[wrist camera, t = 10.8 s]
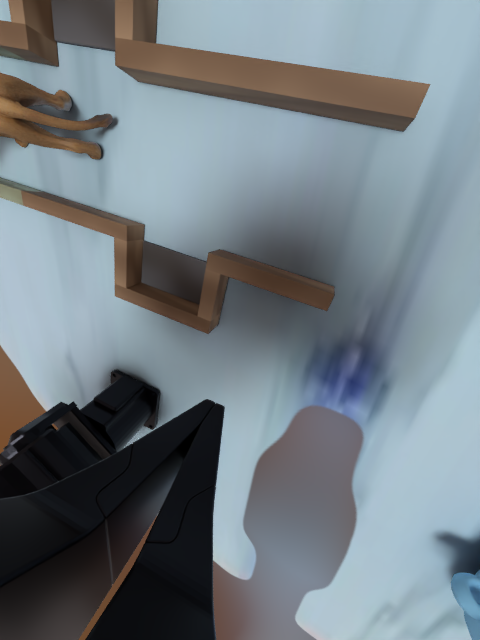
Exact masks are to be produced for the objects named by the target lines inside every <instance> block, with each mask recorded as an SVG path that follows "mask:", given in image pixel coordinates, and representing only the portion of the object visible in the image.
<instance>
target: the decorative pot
mask: <svg viewBox="0 0 480 640" xmlns="http://www.w3.org/2000/svg"><path fill="white" fill-rule="evenodd" d="M451 588H452V592H453V594H454V597H455V599H456V600H457V602H458V604H459V605H460V606H461V607H462V609H463V610H464V617H465V621H466V624H467V627H468V630H469V632H470V635H471V638H472V640H480V569H479V570H478V571H477V573H476V574H475V575H473V574H470V573H457V574H454V576H453V578H452V581H451Z"/></svg>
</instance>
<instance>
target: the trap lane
mask: <svg viewBox="0 0 480 640" xmlns="http://www.w3.org/2000/svg"><path fill="white" fill-rule="evenodd" d="M8 1H9V8H10V15H11V22H8V21H1V20H0V56H5V57H10V58H16V59H21V60H26V61H31V62H37V63H42V64H47V65H53V66H58V54H57V43H56V41H57V42H61V43H67V44H73V45H79V46H85V47H91V48H98V49H104V50H110V51H115V66H117V67H118V68H120V69H121V70H123V71H124V72H125V73H127V74H128V75H130V76H131V77H133V78H134V79H135V80H137V81H138V82H143V83H148V84H154V85H159V86H164V87H170V88H175V89H180V90H186V91H191V92H196V93H201V94H207V95H212V96H217V97H223V98H228V99H233V100H239V101H244V102H249V103H255V104H260V105H265V106H271V107H276V108H281V109H286V110H292V111H297V112H302V113H308V114H313V115H318V116H324V117H329V118H334V119H340V120H345V121H350V122H356V123H361V124H366V125H371V126H377V127H382V128H387V129H393V130H398V131H403V132H404V130H405V129H406V128H407V127H408V126H409V125H410V123H411V122H412V121H413V120H414V119H415V117H416V115H417V113H418V110H419V108H420V106H421V104H422V102H423V99H424V97H425V95H426V93H427V91H428V88H429V86H430V84H425V83H418V82H412V81H405V80H398V79H392V78H385V77H378V76H371V75H365V74H358V73H351V72H344V71H338V70H331V69H324V68H317V67H311V66H304V65H297V64H291V63H284V62H277V61H270V60H264V59H257V58H250V57H243V56H237V55H230V54H223V53H216V52H210V51H203V50H196V49H190V48H183V47H176V46H169V45H163V44H156V27H157V7H158V0H8ZM58 67H59V66H58ZM0 198H3V199H6V200H9V201H12V202H15V203H18V204H21V205H23V206H26V207H29V208H32V209H35V210H38V211H41V212H44V213H46V214H49V215H52V216H55V217H58V218H61V219H64V220H66V221H69V222H72V223H75V224H78V225H81V226H84V227H87V228H89V229H92V230H95V231H98V232H101V233H104V234H107V235H110V236H112V237H114V257H115V296H116V297H118V298H121V299H123V300H126V301H128V302H131V303H133V304H136V305H138V306H140V307H143V308H145V309H148V310H150V311H153V312H155V313H158V314H160V315H163V316H165V317H168V318H170V319H172V320H175V321H177V322H180V323H182V324H185V325H187V326H190V327H192V328H195V329H197V330H200V331H202V332H204V333H207V334H209V333H210V332H211V331H212V330H213V329H214V328H215V327H216V326H217V325H218V323H219V318H220V314H221V309H222V305H223V300H224V296H225V291H226V287H227V282H228V278H229V277H230V278H233V279H236V280H239V281H242V282H245V283H247V284H250V285H253V286H256V287H259V288H262V289H265V290H268V291H270V292H273V293H276V294H279V295H282V296H285V297H288V298H291V299H293V300H296V301H299V302H302V303H305V304H308V305H311V306H314V307H316V308H319V309H322V310H325V311H327V310H328V308H329V306H330V304H331V302H332V299H333V297H334V295H335V291H334V286H331V285H328V284H325V283H321V282H318V281H315V280H312V279H309V278H306V277H303V276H300V275H297V274H294V273H291V272H288V271H285V270H282V269H279V268H275V267H272V266H269V265H266V264H263V263H260V262H257V261H254V260H251V259H248V258H245V257H242V256H239V255H236V254H232V253H229V252H226V251H223V250H220V249H219V250H216V251H213V252H209V253H208V258H207V262H205V261H202V260H199V259H196V258H194V257H191V256H188V255H185V254H182V253H179V252H176V251H173V250H170V249H167V248H164V247H161V246H158V245H155V244H153V243H150V242H147V241H144V226H145V225H144V224H140V223H137V222H134V221H131V220H128V219H125V218H122V217H119V216H116V215H113V214H110V213H107V212H104V211H101V210H97V209H94V208H91V207H88V206H85V205H82V204H79V203H76V202H73V201H70V200H67V199H64V198H61V197H58V196H55V195H51V194H48V193H45V192H42V191H39V190H36V189H33V188H30V187H27V186H24V185H21V184H18V183H15V182H12V181H9V180H5V179H2V178H0Z"/></svg>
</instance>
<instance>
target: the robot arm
mask: <svg viewBox="0 0 480 640" xmlns="http://www.w3.org/2000/svg"><path fill="white" fill-rule="evenodd" d="M159 396H160V393H159V391H158V390H157V389H155V388H153V387H151V386H149V385H147V384H144V383H142V382H140V381H138V380H136V379H134V378H132V377H130V376H128V375H126V374H124V373H122V372H119V371H117V370H114V371H112V372H111V385H110V386H109V387H107V388H106V389H105V390H104V391H102V392H101V393H100V394H98V395H97V396H96V397H95V398H94V400H92V401H91V402H90V403H88V404H87V405H86V406H85V407H83V408H82V409H81V410H79V409H78V408H77V405H76V404H75V403H74V401H73V402H72V403H70V404H69V405H68V404H65V403H63V402H60V403H59V404H57V405H56V406H54V407H53V408H52V409H50V410H49V411H47V412H46V413H44V414H43V415H41V416H40V417H38V418H36V419H35V420H33V421H32V422H30V423H28V424H27V425H25V426H24V427H22V428H21V429H19V430H17V431H16V432H15V433H13V434H12V435H11V436H10V440H9V443H8V445H7V446H6V447H5V448H4V451H3V452H2V453H1V454H0V465H1V466H0V640H78V639H79V638H80V636H81V635H82V633H83V631H84V630H85V628H86V627H87V625H88V623H89V622H90V620H91V618H92V617H93V616H94V614H95V612H96V611H97V609H98V608H99V606H100V604H101V603H102V601H103V600H104V598H105V597H106V595H107V593H108V592H109V590H110V589H111V587H112V584H114V582H115V581H116V579H117V578H118V576H119V574H120V573H121V571H122V570H123V568H124V566H125V565H126V563H127V562H128V560H129V558H130V557H131V555H132V554H133V552H134V551H135V549H136V547H137V545H138V544H139V543H140V541H141V539H142V538H143V536H144V535H145V533H146V531H147V530H148V528H149V527H150V525H151V524H152V522H153V520H154V519H155V517H156V516H157V514H158V516H157V518H156V520H155V522H154V524H153V526H152V529H151V530H150V533H149V535H148V537H147V539H146V541H145V544H144V545H143V548H142V550H141V552H140V554H139V556H138V558H137V559H136V561H135V563H134V565H133V567H132V568H131V570H130V572H129V573H128V575H127V576H126V578H125V579H124V581H123V582H122V584H121V585H120V587H119V589H118V590H117V592H116V593H115V595H114V596H113V598H112V600H111V601H110V602H109V604H108V606H107V607H106V609H105V610H104V612H103V613H102V615H101V616H100V618H99V619H98V621H97V623H96V624H95V626H94V627H93V629H92V630H91V632H90V633H89V635H88V637H87V638H86V639H85V640H216V632H215V621H214V606H213V605H214V604H213V511H214V499H215V490H216V487H215V486H216V480H217V471H218V462H219V454H220V445H221V436H222V427H223V418H224V409H225V407H224V406H223V405H220V404H218V403H216V404H215V402H213V401H211V400H209V399H206V400H204V401H202V402H201V403H199V404H197V405H196V406H194V407H192V408H191V409H189V410H187V411H185V412H184V413H182V414H180V415H179V416H177V417H175V418H174V419H172V420H170V421H169V422H167V423H165V424H164V425H162V426H160V427H159V428H157V429H155V430H154V431H152V432H150V433H149V434H147V435H145V436H144V437H142V438H140V439H139V440H137V441H135V442H134V443H133V444H130V445H129V446H127V447H125V448H124V449H123V447H124V446H125V445H126V444H127V443H128V442H129V441H130V440H131V439H132V437H133V436H134V435H135V434H136V433H137V432H138V431H139V430H140V428H141V427H142V426H143V425H144V426H146V427H148V428H150V429H154V428H155V427H156V424H157V415H158V405H159ZM53 423H54V424H55V425H56V426H57V427H58V430H56V429H55V428H54V427H53V426H52V424H53Z"/></svg>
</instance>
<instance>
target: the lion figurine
mask: <svg viewBox="0 0 480 640" xmlns="http://www.w3.org/2000/svg"><path fill="white" fill-rule="evenodd" d="M34 105H49V106H52V107H54V108H55V109H57V110H65V111H69V110H70V108H71V105H72V103H71V98H70V96H69V95H68V94H67V93H66V92H65V91H62V90H59V91H58V92H56V94H55V95H53V94H49V93H47V92H45V91H43V90H40V89H38V88H36V87H35V86H33V85H31V84H29V83H27V82H25V81H23V80H21V79H19V78H16V77H13V76H10V75H6V74H2V73H0V136H3V137H9V138H14V139H15V141H16V143H18V144H19V145H20V146H21V147H26V146H27V145H28V143H30V144H34V145H39V146H43V147H49V148H56V149H65V150H70V151H73V152H76V153H87V154H88V155H89V156H90V157H91V158H92V159H100V158H101V149H100V146H99V145H98V144H97V143H95V142H84V141H81V140H78V139H73V138H63V137H59V136H56V135H54V134H52V133H50V132H48V131H46V130H44V129H43V128H41V127H39V126H38V125H36V124H34V123H33V122H35V123H39V124H43V125H47V126H51V127H56V128H61V129H66V130H73V131H80V130H89V129H93V128H98V127H105V128H106V127H108V125H110V124H111V123H112V121H113V118H112V116H111V114H104V115H97V116H94V117H93V118H91V119H89V120H85V121H71V120H65V119H60V118H56V117H53V116H49V115H46V114H43V113H40V112H37V111H35V110H32V109H29V108H27V107H30V106H34ZM31 121H32V122H31Z"/></svg>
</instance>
